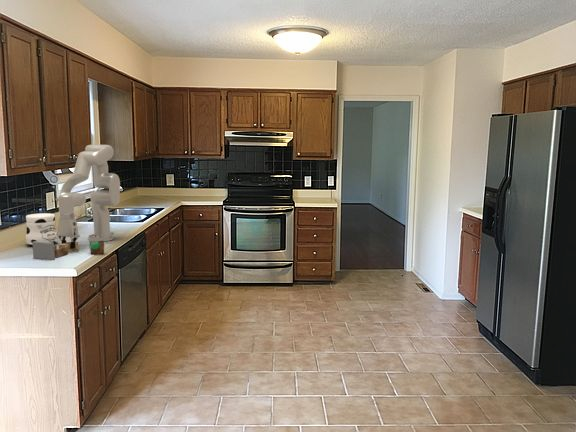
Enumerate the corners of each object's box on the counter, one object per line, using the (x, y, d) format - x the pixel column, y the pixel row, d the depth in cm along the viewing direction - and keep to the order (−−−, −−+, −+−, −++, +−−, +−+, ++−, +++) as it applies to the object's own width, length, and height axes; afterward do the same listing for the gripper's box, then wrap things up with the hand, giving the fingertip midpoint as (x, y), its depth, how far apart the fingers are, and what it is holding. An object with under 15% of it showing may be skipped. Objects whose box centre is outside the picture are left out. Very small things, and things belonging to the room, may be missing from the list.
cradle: (55, 252, 266) (55, 245, 265) (68, 253, 263) (67, 246, 263) (43, 256, 257) (42, 249, 256) (56, 257, 255) (55, 250, 254)
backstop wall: (36, 257, 255) (35, 241, 253) (55, 259, 252) (53, 242, 250) (33, 258, 253) (32, 241, 251) (52, 260, 250) (51, 243, 248)
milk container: (53, 247, 279) (51, 217, 276) (21, 248, 276) (19, 217, 273) (61, 241, 296) (59, 212, 293) (31, 242, 293) (29, 213, 290)
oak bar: (72, 249, 275) (71, 241, 274) (78, 250, 274) (78, 241, 273) (59, 253, 266) (58, 244, 265) (65, 254, 264) (65, 245, 264)
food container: (85, 252, 268) (84, 235, 266) (95, 250, 272) (95, 233, 271) (94, 256, 259) (93, 238, 258) (105, 254, 264) (104, 236, 262)
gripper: (84, 216, 268) (86, 247, 271) (59, 214, 273) (60, 245, 275) (75, 218, 261) (76, 250, 264) (49, 216, 265) (51, 248, 268)
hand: (68, 247), depth 270 cm, fingers open, 5 cm apart
